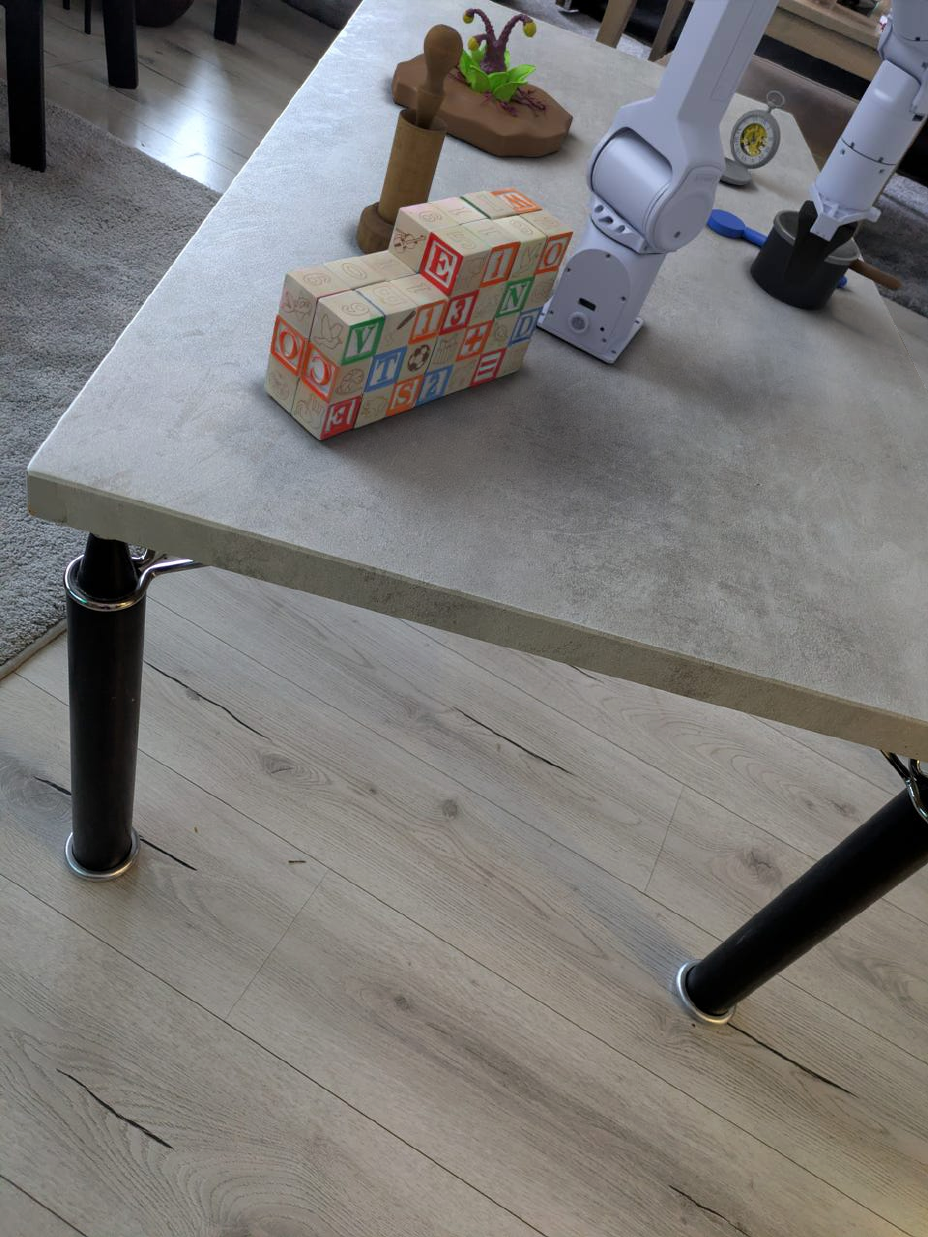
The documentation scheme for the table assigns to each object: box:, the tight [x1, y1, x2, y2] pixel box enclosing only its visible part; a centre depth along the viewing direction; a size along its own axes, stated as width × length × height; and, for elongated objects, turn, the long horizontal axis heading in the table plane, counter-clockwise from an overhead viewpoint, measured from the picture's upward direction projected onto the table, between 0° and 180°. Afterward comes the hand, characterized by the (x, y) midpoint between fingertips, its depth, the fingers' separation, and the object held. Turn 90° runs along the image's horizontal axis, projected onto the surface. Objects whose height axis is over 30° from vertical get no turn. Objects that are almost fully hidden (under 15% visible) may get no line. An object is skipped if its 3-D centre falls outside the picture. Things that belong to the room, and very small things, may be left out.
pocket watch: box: [720, 90, 786, 186], centre depth 121 cm, size 8×8×10 cm
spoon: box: [706, 208, 848, 288], centre depth 111 cm, size 17×4×1 cm, turn 64°
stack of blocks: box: [263, 187, 574, 441], centre depth 69 cm, size 21×6×12 cm, turn 136°
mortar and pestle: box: [355, 23, 464, 255], centre depth 80 cm, size 7×6×18 cm
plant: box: [390, 8, 574, 158], centre depth 110 cm, size 20×20×11 cm
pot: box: [749, 209, 903, 311], centre depth 105 cm, size 10×15×6 cm, turn 65°
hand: (791, 280), depth 100 cm, fingers closed
